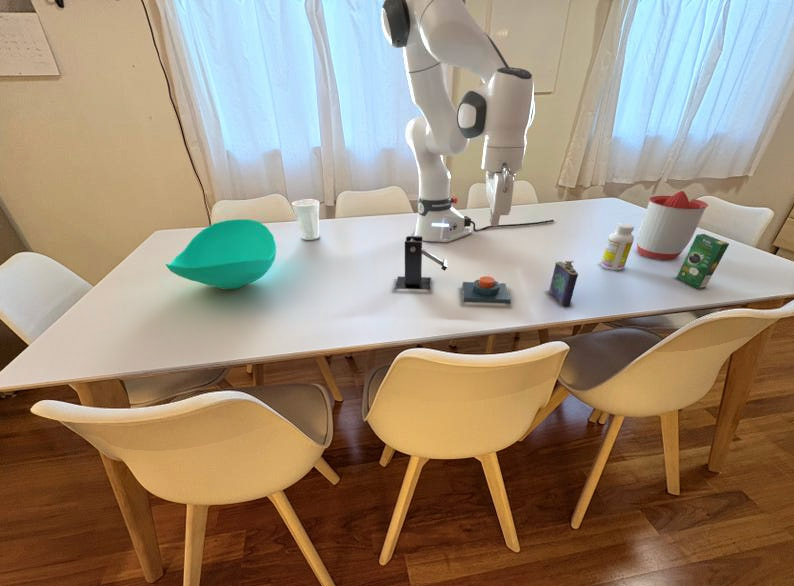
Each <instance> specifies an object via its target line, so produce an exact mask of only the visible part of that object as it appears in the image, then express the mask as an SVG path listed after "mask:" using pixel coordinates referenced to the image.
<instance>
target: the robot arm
mask: <svg viewBox="0 0 794 586" xmlns="http://www.w3.org/2000/svg"><path fill="white" fill-rule="evenodd" d="M381 26H382V30H383V33H384V36H385V37H386V39H387V41H388V43H389V45H390V46H392V47H393V48H395V49H402V50H403V51H402V52H403V58H404V65H405V70H406V77H407V82H408V86H409V91H410V96H411V100H412V102H413V104H414V105H415V106H416V107H417V108H418V109H419V111H420V112H421V114H422V115H420V116H417V117H414V118H412V119H410V120H409V122H408V123H407V126H406V128H405V140H406V143H407V145H408V147H410V149H411V151H412V153H413V157H414V159H415V162H416V166H417V171H418V197H417V221H416V226H415V230H414V234H413V236H422V241H425V242H437V243H438V242H439V243H441V242H442V243H449V242H452V241H455V240H458V239H460V238H463V237H465V236H468V235H470V234H471V229H470V228H468V227H471V226H472V225H473V226H472V230H473V231H474V232H478V231H484V230H486V229H491V228H504V227H505V228H506V227H521V226H531V225H539V224H547V223H552V222H554V221H555V220H554V219H549V220H542V221H534V222H525V223H510V224H509V223H508V224H500V218H501V216H509V215H510V213H511V210H512V203H513V195H514V187H515V178H516V173H517V172H520V171H522V170H523V165H524V160H525V152H526V147H527V138H526V137H527V136H526V134H527V131H528V130H529V128H530V127H531V125H532V123H533V121H534V117H535V113H536V105H535V100H534V90H535V89H534V88H535V85H534V76H533V74H532V73H531V71H529V70H527V69H524V68H519V67H518V68H517V67H510V66H509V64H508V62H507V61H506V59H505V58H504V56H503V55H502V53H501V52H500V49H499V48H498V47H497V45H496V44H495V42H494V41H493V40H492V38H491V37H490V36H489V35H488V34H487V33H486V32H485V31H484V30H483V28H482V27H481V26H480V25H479V24H478V22H477V21H476V20H475V19H474V17H473V16H472V15H471V13H470V11H469V9H468V8H467V7H466V0H384V1H383V3H382V7H381ZM444 65H447V66H452V67H456V68H460V69H463V70H466V71H469V72H470V73H473V74H474V75H476V76H477V77H478V78H479V79H480V80H481V81H482V83H483V84H482V85H480V86H478V87H476V88H474V89H471V90H469V91H467V92H466V93H465V94H464V95H463V97H462V98H461V99H460V102H459V104H458V107H457V110H456V107H455V105H454V103H453V101H452V99H451V95H450V92H449V89H448V84H447V79H446V78H447V77H446V72H445V66H444ZM470 140H472V141H480V140H484V143H483V148H482V149H483V150H482V160H481V170H483V171H485V195H486V198H487V201H488V204H489V207H490V209H489V210H490V215H489V223H490V225H488V226H485V227H482V228H480V229H477V228H476V223H475V222H474V221H473V220H472V218H470V217H469V216H467V215H463V214H461V212H459V211H458V210H457V209H456V208H454V207H453V204H458V202H459V198H457V197H455V196H453V197H451V196H450V190H451V172H450V170H449V169H448V168H447V166H446V165H445V163H444V160H443V156H444V157H452V156H458V155H461V154H463V153H464V152H465V151H466V149H467V147H468V146H469V143H470ZM471 224H472V225H471Z"/></svg>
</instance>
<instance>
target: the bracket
mask: <svg viewBox="0 0 794 586" xmlns="http://www.w3.org/2000/svg"><path fill="white" fill-rule="evenodd" d="M411 238H413V239H414V240H416V241H410V240H411ZM421 248H423V240H422V236H414V235H406V236H405V240H404V276H398V275H397V276H396V281H395V285H394V289H396V290H397V289H398V290H399V289H400V290H426V291H427V290H431V283H432V277H430V276H429V277H428V276H422V272H423V269H422V268H423V254H422V253H421Z"/></svg>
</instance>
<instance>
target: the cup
mask: <svg viewBox="0 0 794 586" xmlns="http://www.w3.org/2000/svg"><path fill="white" fill-rule="evenodd" d="M291 206H292V210H293V212H294V215H295V218H296V221H297V224H298V228H299V230H300V234H301V238H302V239H303V240H307V241H313V240H317V239H319V238H320V201H319V200H318V199H311V198H310V199H309V198H308V199H307V198H306V199H299V200H298V199H297V200H295V201H293V202H292V203H291Z"/></svg>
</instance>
